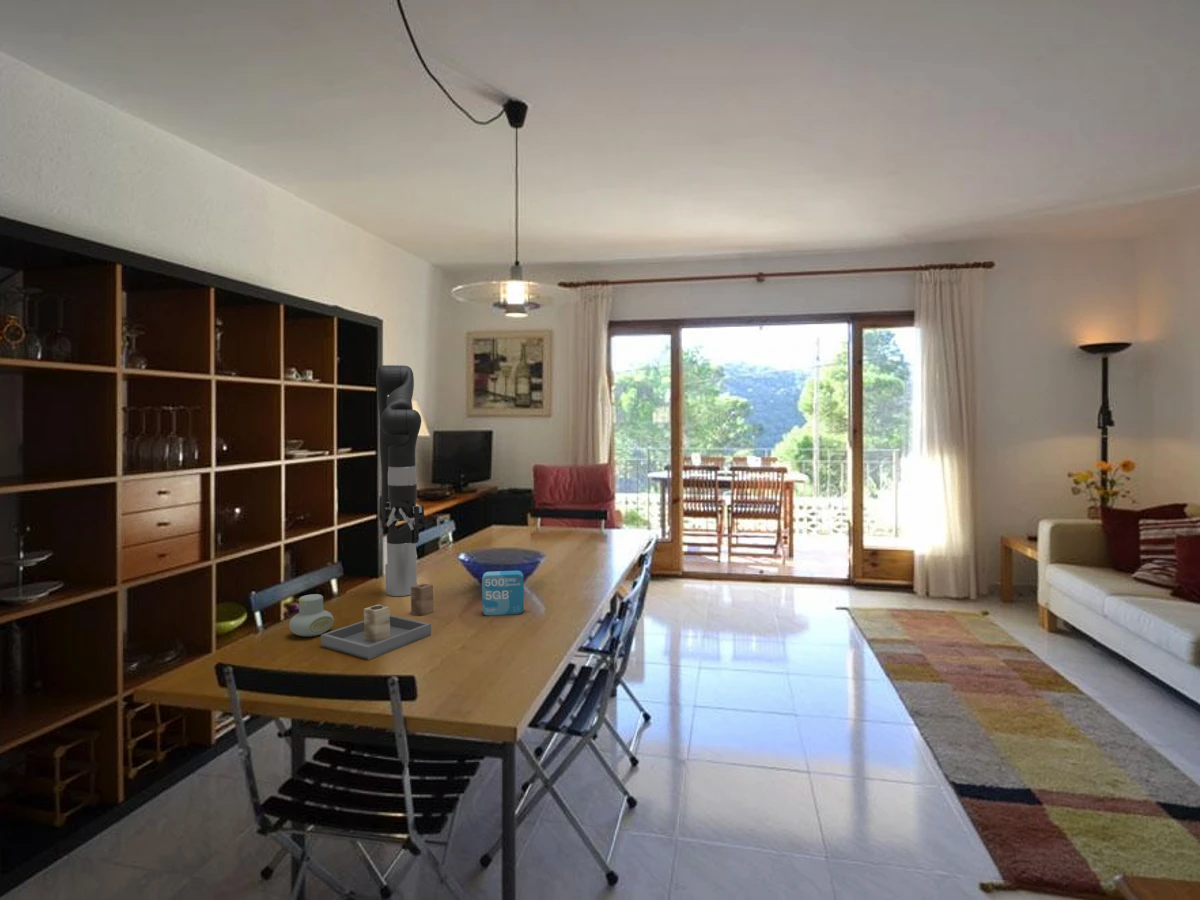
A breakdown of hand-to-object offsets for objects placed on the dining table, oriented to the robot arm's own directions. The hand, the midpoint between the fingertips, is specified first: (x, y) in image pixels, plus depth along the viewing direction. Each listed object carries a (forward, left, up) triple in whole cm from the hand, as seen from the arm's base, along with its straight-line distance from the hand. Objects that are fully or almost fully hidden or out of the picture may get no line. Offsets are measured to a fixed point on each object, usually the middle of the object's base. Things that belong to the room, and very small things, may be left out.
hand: (403, 541), depth 173 cm
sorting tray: (+2, -11, -24) cm, 27 cm away
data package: (+15, +24, -24) cm, 37 cm away
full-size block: (-6, +12, -24) cm, 27 cm away
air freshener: (-18, -16, -24) cm, 34 cm away
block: (+2, -11, -23) cm, 26 cm away
